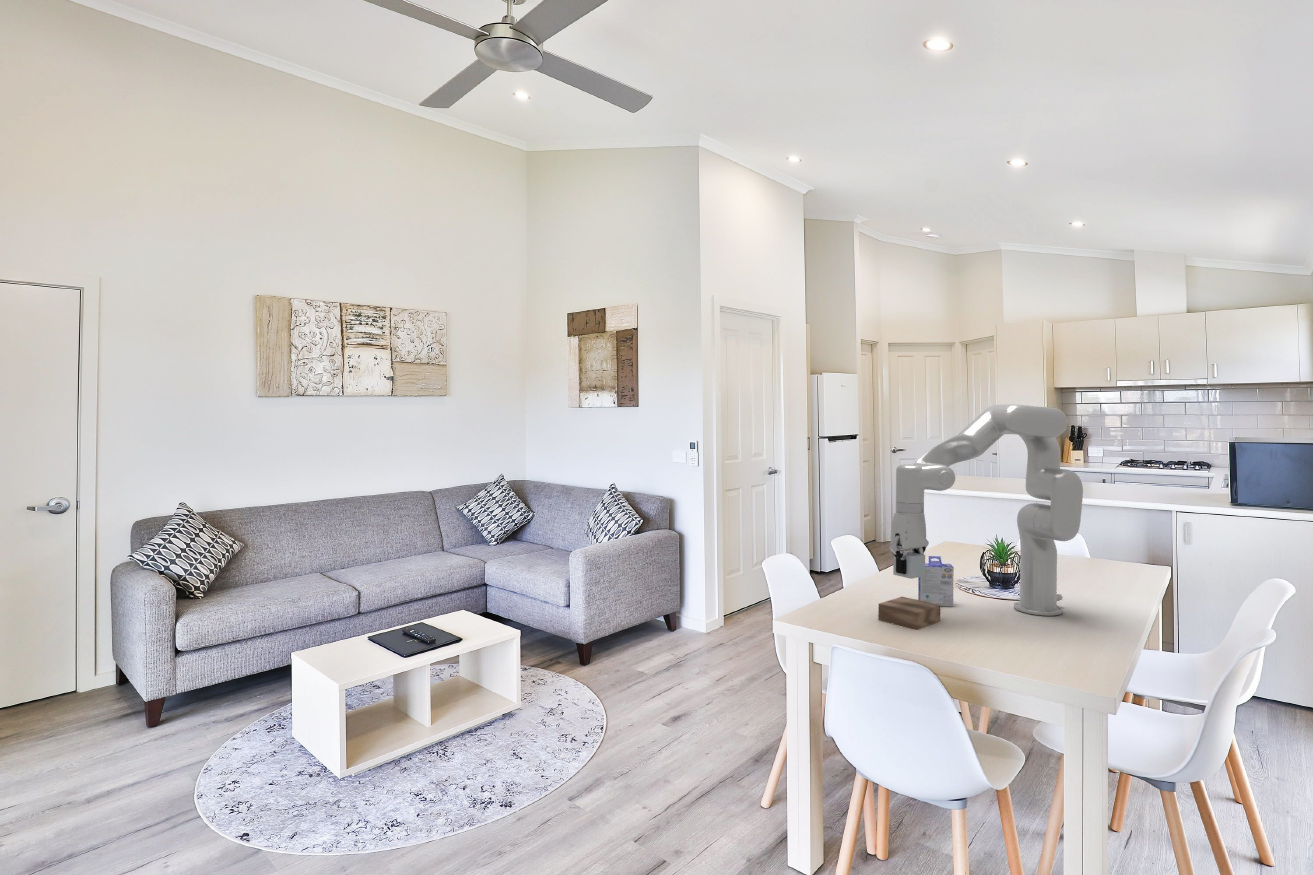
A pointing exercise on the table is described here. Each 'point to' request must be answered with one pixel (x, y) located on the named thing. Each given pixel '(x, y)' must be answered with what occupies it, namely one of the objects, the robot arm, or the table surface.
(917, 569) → the grey block
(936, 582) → the ink cartridge box
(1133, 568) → the table surface
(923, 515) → the robot arm
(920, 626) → the walnut block
